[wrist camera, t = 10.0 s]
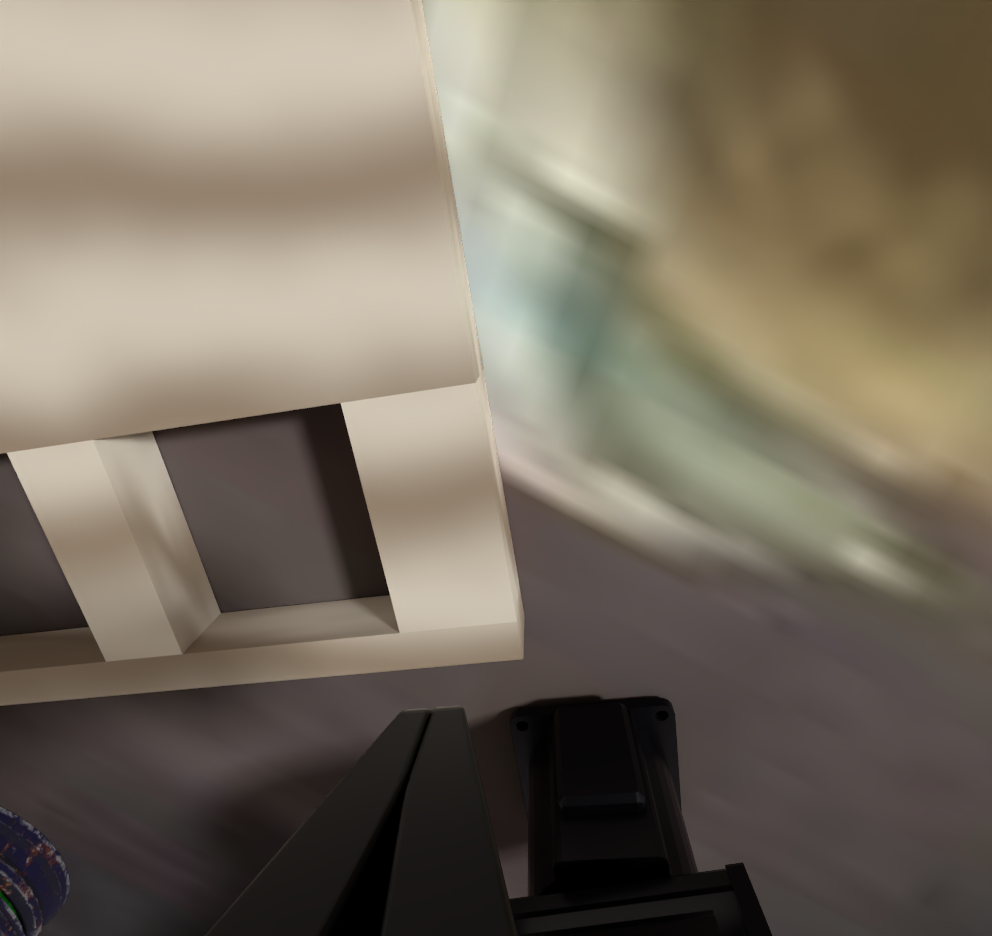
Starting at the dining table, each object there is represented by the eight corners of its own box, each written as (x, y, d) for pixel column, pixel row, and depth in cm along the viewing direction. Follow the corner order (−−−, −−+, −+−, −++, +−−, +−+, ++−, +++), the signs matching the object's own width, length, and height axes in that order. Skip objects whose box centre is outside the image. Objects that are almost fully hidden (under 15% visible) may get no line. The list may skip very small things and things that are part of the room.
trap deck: (524, 615, 21) (522, 702, 16) (-106, 677, 24) (-244, 764, 19) (400, -124, 14) (340, -307, 9) (-469, 103, 17) (-810, 44, 12)
